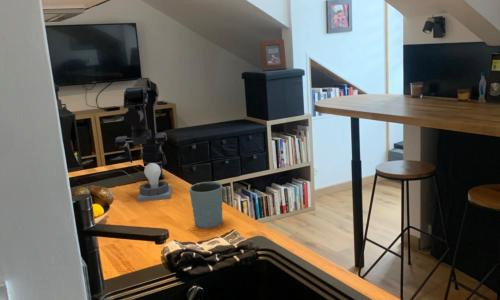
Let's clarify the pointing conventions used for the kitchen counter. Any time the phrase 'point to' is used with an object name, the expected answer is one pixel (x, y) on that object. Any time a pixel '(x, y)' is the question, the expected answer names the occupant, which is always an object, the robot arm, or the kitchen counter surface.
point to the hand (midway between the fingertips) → (143, 161)
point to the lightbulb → (152, 174)
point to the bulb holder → (154, 192)
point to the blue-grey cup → (207, 204)
